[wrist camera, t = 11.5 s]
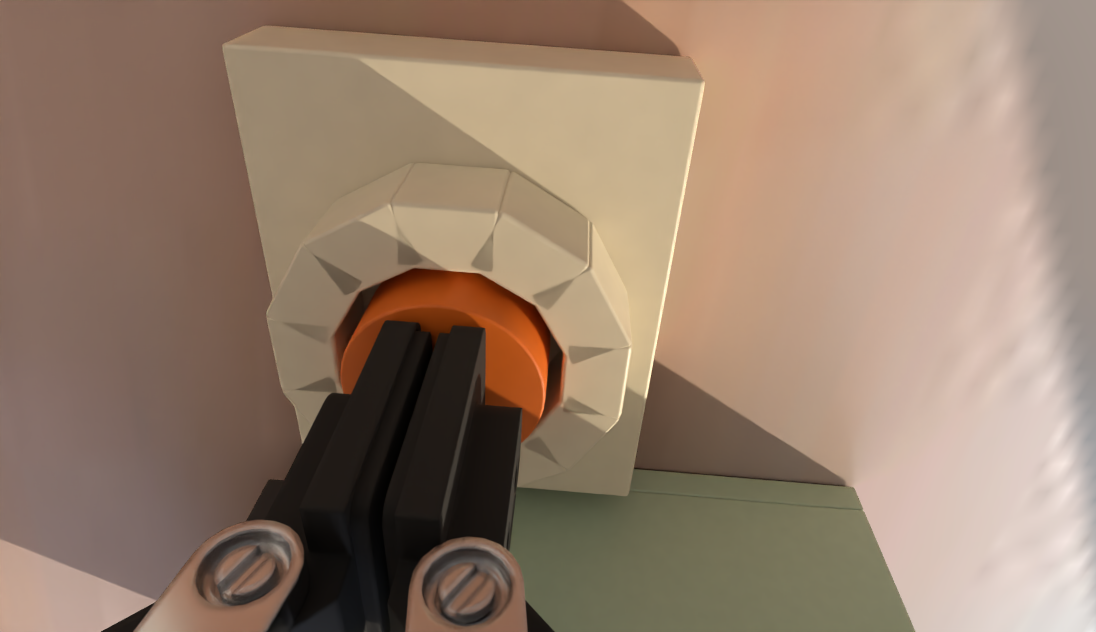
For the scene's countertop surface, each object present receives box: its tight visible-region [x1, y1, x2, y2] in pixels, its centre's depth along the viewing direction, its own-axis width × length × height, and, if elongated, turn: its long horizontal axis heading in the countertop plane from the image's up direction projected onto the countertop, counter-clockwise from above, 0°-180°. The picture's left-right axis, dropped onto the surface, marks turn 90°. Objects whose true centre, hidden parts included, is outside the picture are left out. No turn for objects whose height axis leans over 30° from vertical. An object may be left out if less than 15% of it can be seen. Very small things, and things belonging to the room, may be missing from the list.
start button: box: [340, 268, 550, 443], centre depth 12 cm, size 4×4×2 cm
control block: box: [222, 25, 705, 496], centre depth 14 cm, size 10×8×4 cm
